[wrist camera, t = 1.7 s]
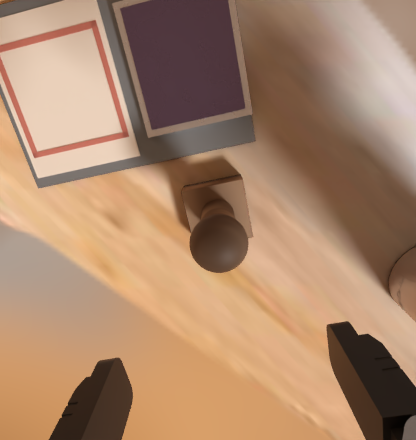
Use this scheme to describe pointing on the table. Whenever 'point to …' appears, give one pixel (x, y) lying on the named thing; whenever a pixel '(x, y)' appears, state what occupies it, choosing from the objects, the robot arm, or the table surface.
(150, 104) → the ink pad
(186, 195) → the stamp
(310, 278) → the table surface
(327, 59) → the table surface
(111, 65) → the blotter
